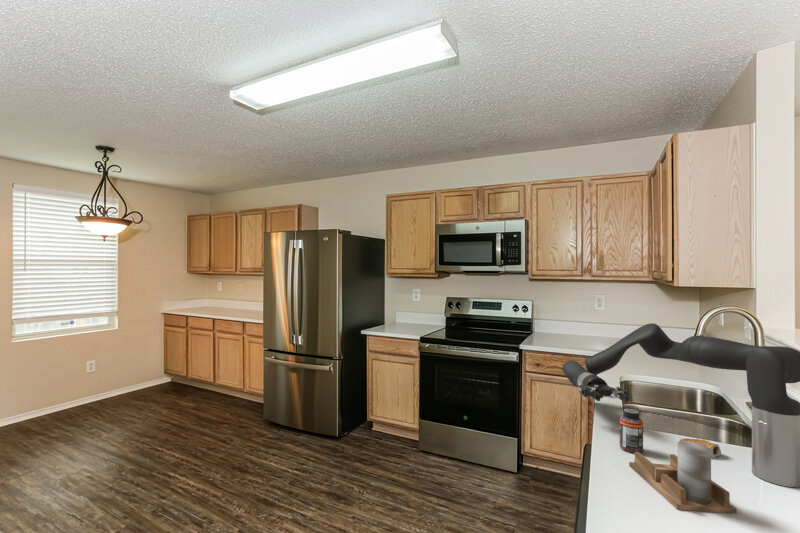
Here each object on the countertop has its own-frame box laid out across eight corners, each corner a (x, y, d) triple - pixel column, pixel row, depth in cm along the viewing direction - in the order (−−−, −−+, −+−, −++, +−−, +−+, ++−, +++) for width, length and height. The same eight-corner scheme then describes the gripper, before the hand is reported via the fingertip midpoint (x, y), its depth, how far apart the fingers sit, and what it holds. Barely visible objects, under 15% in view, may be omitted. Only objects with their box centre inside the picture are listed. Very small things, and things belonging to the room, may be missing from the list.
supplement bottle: (621, 443, 119) (621, 405, 119) (644, 449, 115) (644, 410, 115) (617, 449, 114) (617, 410, 114) (641, 456, 110) (641, 415, 111)
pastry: (675, 447, 118) (675, 434, 118) (687, 443, 121) (687, 431, 121) (711, 460, 110) (711, 446, 110) (723, 456, 113) (723, 442, 113)
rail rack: (676, 468, 103) (676, 422, 104) (736, 513, 83) (736, 456, 84) (629, 465, 104) (629, 420, 104) (677, 509, 84) (677, 452, 84)
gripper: (572, 373, 143) (590, 385, 127) (612, 375, 142) (636, 388, 126) (571, 394, 143) (589, 409, 127) (612, 396, 142) (635, 411, 126)
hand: (612, 398), depth 126 cm, fingers open, 8 cm apart
